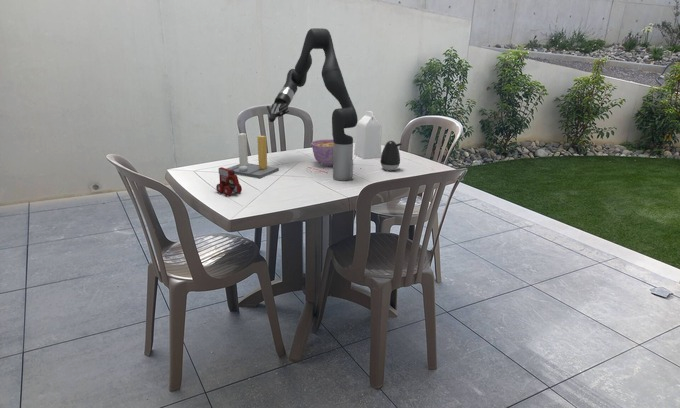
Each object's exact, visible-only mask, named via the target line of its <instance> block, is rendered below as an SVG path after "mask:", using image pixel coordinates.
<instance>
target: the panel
mask: <svg viewBox="0 0 680 408" xmlns="http://www.w3.org/2000/svg"><path fill="white" fill-rule="evenodd" d="M239 166H241V165H240V163H238V164H235V165H233V166H229V167H227V168H226V169H229V170H234V171H235V175H238V176H242V177H243V176H245V177H249V178H254V179H262V178H265V177H267V176H270V175H272V174H275V173H277V172H279V171H280V169H279V167H275V166H268V165H267V168H265V169H260V168H259V164H256V163H249V162H248V165H246V166H247V169H248V171H246V172H240V171H239Z"/></svg>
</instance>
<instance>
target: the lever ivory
mask: <svg viewBox="0 0 680 408" xmlns="http://www.w3.org/2000/svg"><path fill="white" fill-rule="evenodd" d="M247 140H248V137H247V133H243V132H242V133H238V134H237V143H238V144H237V145H238V158H239V159H238V160H239V161H238V162H239V163H238V164H240V165H241V166H246V165H248V163H249V160H248V158H249V157H248V142H247Z"/></svg>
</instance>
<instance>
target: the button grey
mask: <svg viewBox="0 0 680 408" xmlns="http://www.w3.org/2000/svg"><path fill="white" fill-rule="evenodd" d="M239 171H240V172H246V171H248V169H247V166H239Z"/></svg>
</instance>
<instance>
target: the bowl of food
mask: <svg viewBox="0 0 680 408" xmlns="http://www.w3.org/2000/svg"><path fill="white" fill-rule="evenodd" d="M311 148H312V153H313V156H314V158H315V160H316V162H318V163H319V164H321V165H323V166H326V167H333V139H318V140H314V141H312V142H311Z"/></svg>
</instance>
